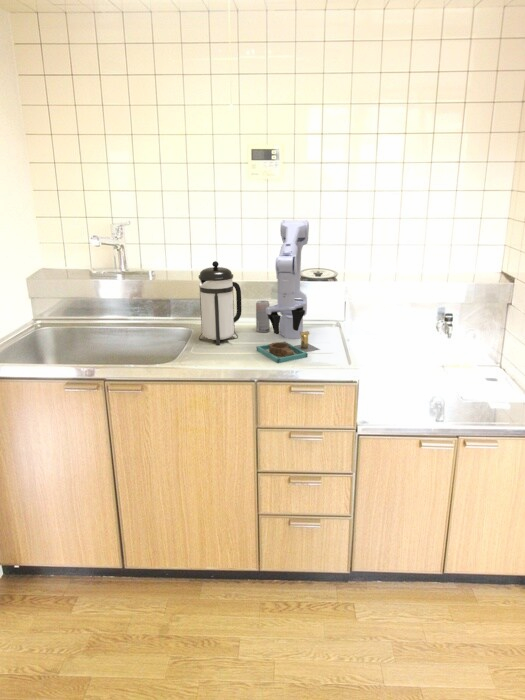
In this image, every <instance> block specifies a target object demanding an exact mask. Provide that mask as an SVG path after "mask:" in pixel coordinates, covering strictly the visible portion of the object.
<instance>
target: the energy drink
mask: <svg viewBox="0 0 525 700" xmlns="http://www.w3.org/2000/svg"><path fill="white" fill-rule="evenodd" d="M267 307H270V302H269V300H257V301H256V303H255V322H256V324H255V325H256V329H255V330H256V332H257V333H260V334H261V333H262V334H263V333H264V334H266V333H268V332H270V330H271V329H270V326H271V324H270V323H271V321H270V319H269V317H268V315H267V314H266V308H267Z"/></svg>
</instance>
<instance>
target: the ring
mask: <svg viewBox="0 0 525 700" xmlns="http://www.w3.org/2000/svg"><path fill="white" fill-rule="evenodd" d="M283 342H284V341H279V342H272V343H269V344H270V345H269V349H268V350H269V351H268V352H269V353H271V354H273V355H274V356H276V357H281V358H282V357H287V356H292V355H295V352H294V351H293V350H291V349H290V346H289V344H290V343H289V344H287V343H288V342H287V343H283Z"/></svg>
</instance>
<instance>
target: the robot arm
mask: <svg viewBox="0 0 525 700" xmlns="http://www.w3.org/2000/svg"><path fill="white" fill-rule="evenodd" d="M309 224H310V223H309V221H308V220H307V219H306V220H305V219H304V220H284V219H283V220H282V221H280V228H279V229H280V236H281V240H282V244H281V246H280V251H279V256H278V257H275V266H274V267H275V273H276V280H277V285H276V286H277V304H273V305H272V306H269V307H267V308H266V314H267V315H268V317H269V319H270V323H271V326H272V330H273V334H275V335H281V336H282V337H283V338H285V339H288V340H299V339H300V340H301V335H300V332H304V317H305V316H306V315H307V312H308V300H307V299H308V298H307V295H306V294H305V293H304V292H303V291H302V290H301V269H302V267H301V265H302V252H303V251H302V250H303V247H304V246H305V245H307V244H308V241H309V229H310V225H309Z"/></svg>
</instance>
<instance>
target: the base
mask: <svg viewBox="0 0 525 700" xmlns="http://www.w3.org/2000/svg"><path fill="white" fill-rule="evenodd" d="M294 346H295V347H296V348H298V349H300V350H302V351H304V352H306V353H310V352H314V351H320V350H321V349H320V348H318V347H316V346H314V345H312V344H310V343H308V349H301V344H297V345H294Z"/></svg>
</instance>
